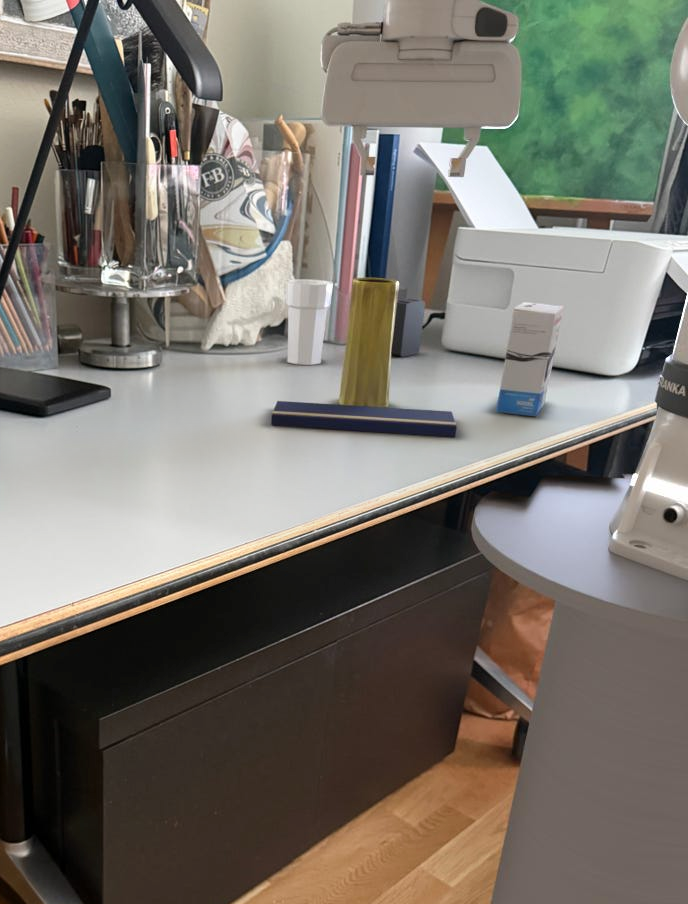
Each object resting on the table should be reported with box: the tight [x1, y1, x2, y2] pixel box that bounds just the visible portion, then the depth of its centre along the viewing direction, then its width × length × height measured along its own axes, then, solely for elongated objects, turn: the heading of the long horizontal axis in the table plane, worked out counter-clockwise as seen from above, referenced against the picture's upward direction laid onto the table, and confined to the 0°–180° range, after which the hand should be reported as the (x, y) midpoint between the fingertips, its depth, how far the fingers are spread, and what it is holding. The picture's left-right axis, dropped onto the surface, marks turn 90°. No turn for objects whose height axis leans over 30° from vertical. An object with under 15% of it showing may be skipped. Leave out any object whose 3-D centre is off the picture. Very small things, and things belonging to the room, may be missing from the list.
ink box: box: [495, 301, 565, 417], centre depth 111 cm, size 8×5×12 cm, turn 155°
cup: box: [285, 278, 334, 366], centre depth 135 cm, size 7×7×11 cm
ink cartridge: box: [391, 298, 426, 358], centre depth 143 cm, size 5×2×8 cm, turn 133°
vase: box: [337, 277, 400, 408], centre depth 110 cm, size 6×6×14 cm
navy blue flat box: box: [270, 400, 458, 438], centre depth 105 cm, size 20×7×1 cm, turn 81°
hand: (411, 176), depth 100 cm, fingers open, 8 cm apart
